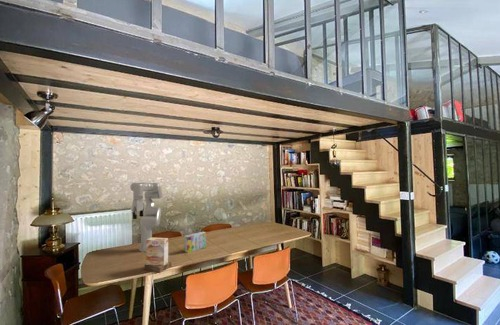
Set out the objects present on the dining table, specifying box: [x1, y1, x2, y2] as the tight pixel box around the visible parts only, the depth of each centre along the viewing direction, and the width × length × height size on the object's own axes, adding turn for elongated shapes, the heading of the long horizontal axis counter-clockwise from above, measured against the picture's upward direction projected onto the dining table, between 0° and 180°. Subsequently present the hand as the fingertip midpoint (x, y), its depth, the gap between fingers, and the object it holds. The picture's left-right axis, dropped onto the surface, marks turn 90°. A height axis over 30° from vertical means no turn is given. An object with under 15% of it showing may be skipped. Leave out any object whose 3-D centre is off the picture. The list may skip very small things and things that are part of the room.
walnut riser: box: [143, 261, 172, 274], centre depth 189 cm, size 12×16×4 cm
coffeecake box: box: [145, 236, 169, 266], centre depth 188 cm, size 15×7×20 cm, turn 81°
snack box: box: [183, 231, 207, 254], centre depth 230 cm, size 21×6×15 cm, turn 135°
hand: (138, 217), depth 206 cm, fingers open, 9 cm apart
